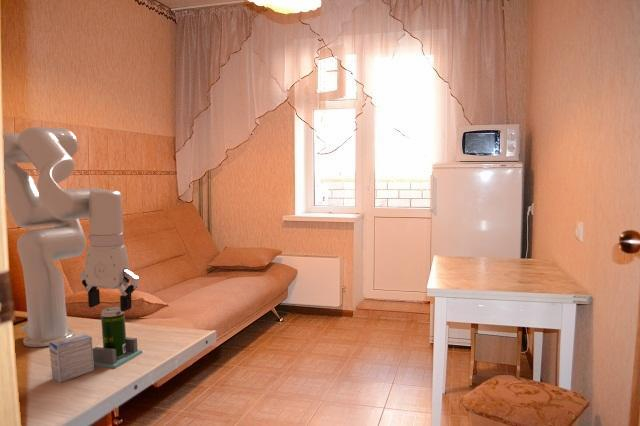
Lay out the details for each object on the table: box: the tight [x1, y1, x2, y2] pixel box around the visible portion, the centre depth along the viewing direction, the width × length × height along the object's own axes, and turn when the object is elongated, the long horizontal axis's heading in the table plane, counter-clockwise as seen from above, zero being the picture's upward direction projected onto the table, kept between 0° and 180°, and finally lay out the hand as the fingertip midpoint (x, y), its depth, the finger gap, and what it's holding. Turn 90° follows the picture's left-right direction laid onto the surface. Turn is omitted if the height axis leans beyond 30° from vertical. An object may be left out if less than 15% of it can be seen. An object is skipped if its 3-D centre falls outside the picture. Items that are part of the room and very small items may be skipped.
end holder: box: [92, 336, 143, 369], centre depth 123 cm, size 8×10×4 cm
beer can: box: [100, 306, 127, 359], centre depth 122 cm, size 5×5×12 cm
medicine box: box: [48, 332, 95, 384], centre depth 113 cm, size 8×4×9 cm, turn 141°
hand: (110, 307), depth 122 cm, fingers open, 9 cm apart
